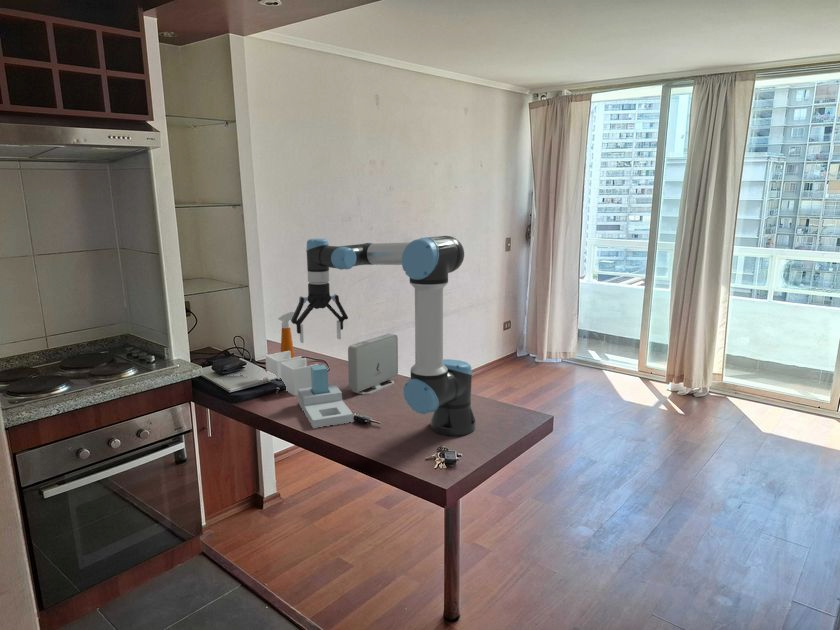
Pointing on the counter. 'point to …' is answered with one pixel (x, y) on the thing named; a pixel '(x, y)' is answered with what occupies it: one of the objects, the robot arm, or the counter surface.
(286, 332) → the spray bottle
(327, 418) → the panel
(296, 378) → the storage container
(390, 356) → the network device
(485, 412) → the counter surface
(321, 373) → the plug
